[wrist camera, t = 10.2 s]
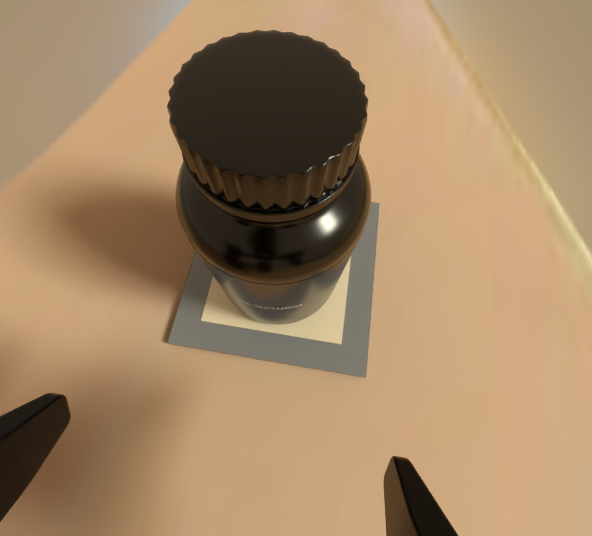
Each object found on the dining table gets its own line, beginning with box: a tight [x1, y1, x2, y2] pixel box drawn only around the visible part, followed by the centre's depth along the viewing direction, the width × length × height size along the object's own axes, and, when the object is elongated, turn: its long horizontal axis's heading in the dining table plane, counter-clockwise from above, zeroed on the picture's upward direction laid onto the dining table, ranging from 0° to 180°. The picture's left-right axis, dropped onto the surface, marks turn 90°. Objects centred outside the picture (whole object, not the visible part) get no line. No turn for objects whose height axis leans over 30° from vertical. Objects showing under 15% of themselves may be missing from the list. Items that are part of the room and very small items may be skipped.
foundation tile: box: [168, 202, 379, 378], centre depth 19 cm, size 11×11×1 cm
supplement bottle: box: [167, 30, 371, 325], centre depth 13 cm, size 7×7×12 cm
